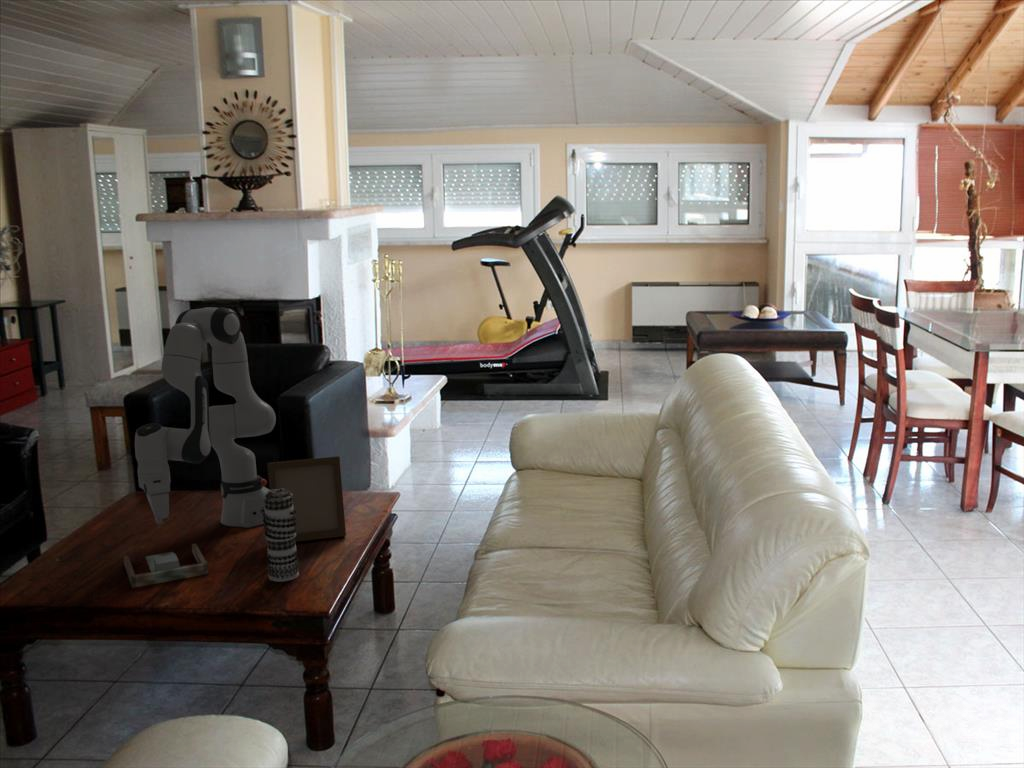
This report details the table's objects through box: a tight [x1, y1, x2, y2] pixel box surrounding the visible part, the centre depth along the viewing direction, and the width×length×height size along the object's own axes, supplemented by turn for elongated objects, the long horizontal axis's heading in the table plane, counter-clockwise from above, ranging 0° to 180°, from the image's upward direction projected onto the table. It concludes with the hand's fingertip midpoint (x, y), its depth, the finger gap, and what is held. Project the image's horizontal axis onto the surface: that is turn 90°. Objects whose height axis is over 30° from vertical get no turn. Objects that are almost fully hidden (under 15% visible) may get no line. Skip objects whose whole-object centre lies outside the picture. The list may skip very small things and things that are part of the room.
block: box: [154, 553, 180, 572], centre depth 284 cm, size 6×6×4 cm
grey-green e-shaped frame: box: [123, 543, 209, 589], centre depth 288 cm, size 20×24×3 cm
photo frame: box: [266, 455, 347, 543], centre depth 310 cm, size 15×22×25 cm
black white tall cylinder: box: [262, 488, 300, 583], centre depth 277 cm, size 9×9×25 cm
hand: (159, 522), depth 295 cm, fingers closed
